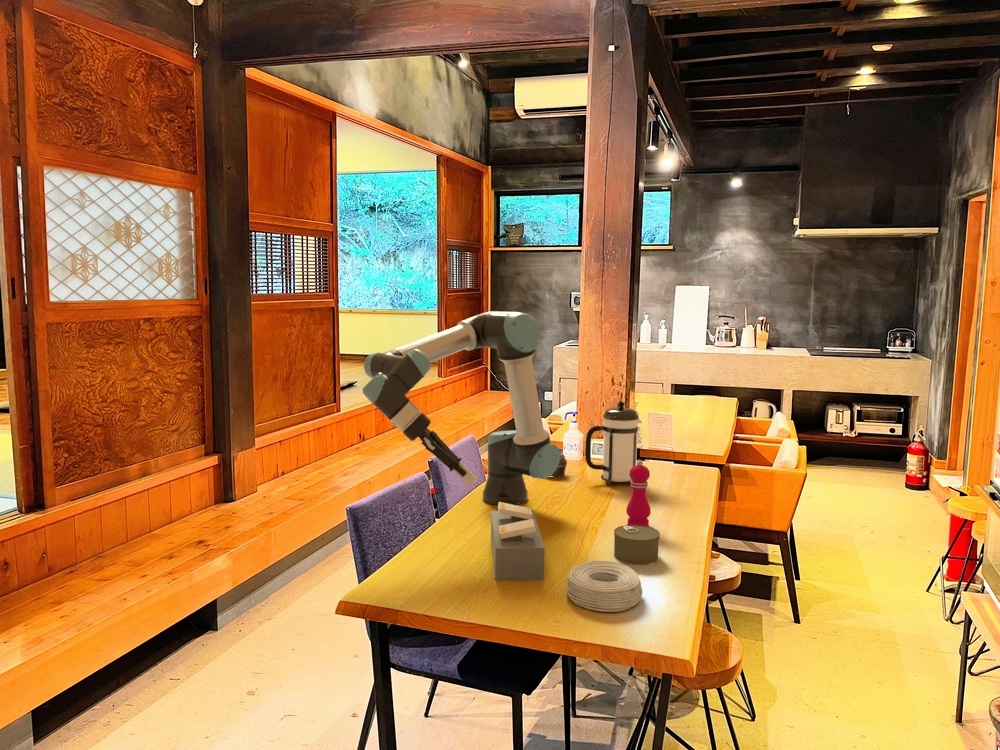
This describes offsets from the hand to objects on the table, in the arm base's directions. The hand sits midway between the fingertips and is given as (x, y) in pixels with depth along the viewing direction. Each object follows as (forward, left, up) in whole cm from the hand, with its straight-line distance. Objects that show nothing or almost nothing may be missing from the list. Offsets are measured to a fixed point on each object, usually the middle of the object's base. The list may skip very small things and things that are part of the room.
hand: (473, 482), depth 202 cm
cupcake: (-42, +73, -19) cm, 86 cm away
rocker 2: (+18, 0, -9) cm, 20 cm away
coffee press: (-20, +83, -19) cm, 87 cm away
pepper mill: (+16, +51, -19) cm, 56 cm away
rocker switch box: (+10, +6, -19) cm, 22 cm away
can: (+32, +30, -19) cm, 48 cm away
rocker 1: (+6, +9, -9) cm, 14 cm away
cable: (+44, +4, -19) cm, 48 cm away
